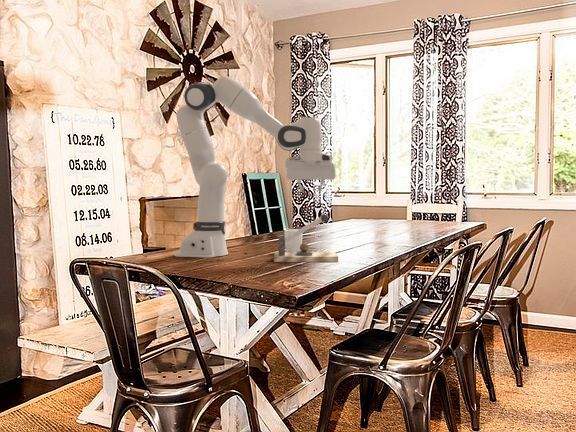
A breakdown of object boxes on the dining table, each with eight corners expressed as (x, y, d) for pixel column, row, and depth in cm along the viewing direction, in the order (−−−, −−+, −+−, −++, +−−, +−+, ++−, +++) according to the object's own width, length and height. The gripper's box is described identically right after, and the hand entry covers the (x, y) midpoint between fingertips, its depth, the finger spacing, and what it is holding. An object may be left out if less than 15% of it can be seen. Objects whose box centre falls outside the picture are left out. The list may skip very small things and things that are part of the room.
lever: (280, 247, 217) (277, 241, 217) (280, 245, 224) (277, 239, 224) (329, 219, 217) (325, 213, 216) (327, 218, 223) (324, 212, 223)
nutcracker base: (274, 261, 215) (273, 238, 214) (274, 257, 227) (274, 235, 226) (338, 261, 215) (338, 238, 214) (335, 257, 227) (335, 235, 226)
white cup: (300, 254, 235) (300, 231, 235) (282, 253, 237) (282, 230, 236) (304, 251, 243) (304, 229, 242) (286, 251, 245) (286, 228, 244)
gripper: (285, 156, 223) (285, 191, 224) (336, 156, 223) (335, 190, 224) (285, 157, 229) (285, 190, 230) (334, 157, 229) (334, 190, 230)
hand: (310, 190), depth 227 cm, fingers open, 6 cm apart
